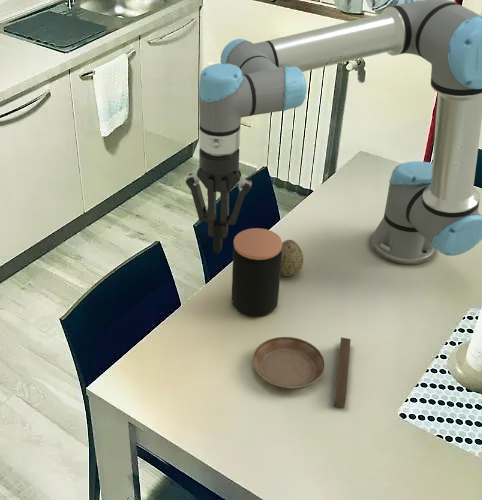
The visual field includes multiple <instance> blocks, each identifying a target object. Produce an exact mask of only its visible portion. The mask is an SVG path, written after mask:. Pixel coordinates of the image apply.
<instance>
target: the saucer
mask: <svg viewBox="0 0 482 500" xmlns="http://www.w3.org/2000/svg"><path fill="white" fill-rule="evenodd" d="M252 365H253V368H254V370H255V371H256V373H257V374H258V376H260V378H262V379H263V380H264V381H265V382H267V383H269V384H270V385H273V386H274V387H277V388H279V389H285V390H286V389H287V390H298V389H303V388H307V387H308V386H311V385H313V384H315V383H316V382H317V381H318V380H320V379H321V377H322V376H323V375H324V372H325V368H326V361H325V358H324V355H323V354H322V352H321V350H319V349H318V348H317V347H316V346H315V345H313V344H312V343H310V342H308V341H307V340H304V339H301V338H297V337H293V336H277V337H273V338H270V339H267V340H265V341H263V342H262V343H260V344H259V345H258V346H257V347H256V348H255V350H254V352H253V354H252Z"/></svg>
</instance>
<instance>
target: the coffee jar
mask: <svg viewBox="0 0 482 500" xmlns="http://www.w3.org/2000/svg"><path fill="white" fill-rule="evenodd" d="M282 244H283V240H282V238H281V236H280V235H279V234H278V233H276V232H274V231H272V230H270V229H267V228H259V227H255V228H253V227H252V228H247V229H244V230H242V231H240V232H238V233H237V234H236V235H235V236H234V239H233V250H232V272H231V274H232V275H231V304H232V306H233V307H234V309H235V310H236V311H237V312H239V313H240V314H241V315H243V316H246V317H249V318H262V317H266V316H268V315H269V314H271V313H272V312H274V310H275V309H276V308H277V306H278V303H279V292H280V281H281V274H280V270H281V258H282V251H281V249H282Z"/></svg>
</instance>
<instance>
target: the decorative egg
mask: <svg viewBox="0 0 482 500" xmlns="http://www.w3.org/2000/svg"><path fill="white" fill-rule="evenodd" d="M282 243H283V244H282V249H281V251H282V258H281V270H280V275H282V276H285V277H293V276H295V275H297V274H298V273H299V272H300V271H301V269H302V268H303V265H304V259H305V258H304V254H303V251H302V248H301V247H300V245H299V244H298V242H296V241H295V240H293V239H287V240H284V241H282Z"/></svg>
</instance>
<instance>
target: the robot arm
mask: <svg viewBox="0 0 482 500" xmlns="http://www.w3.org/2000/svg"><path fill="white" fill-rule="evenodd" d="M385 53H387V54H388V55H389V56H392V57H393V56H398V55H399V56H400V55H403V54H408V55H409V54H410V55H415V56H418V57H420V58H422V59H423V60H426V62H428V63H430V64H431V72H430V73H431V75H430V86H431V88H432V90H433V91H435V92H436V93H437V101H436V102H437V103H436V113H435V126H434V139H433V140H434V141H433V151H432V162H428V161H419V160H418V161H417V160H416V161H415V160H413V161H405V162H403V163H400V164H398V165H397V166H395V167H394V169H393V170H392V173H391V176H390V179H389V181H388V182H389V184H388V192H387V196H386V202H385V203H386V204H385V208H384V213H383V217H382V219H381V221H380V222H379V224H378V225H377V226H376V229H375V230H374V232H373V233H372V236H371V237H372V238H371V247H372V249H373V251H374V252H375V253H376V254H377V255H378V256H380V257H381V258H382V259H385V260H386V261H389V262H391V263H394V264H399V265H409V266H411V265H420V264H424V263H426V262H428V261H430V260H431V259H432V258H433V257H434V256H435V251H436V250H437V251H438V252H440V253H441V254H442V255H445V256H448V257H449V256H450V257H452V256H453V257H454V256H459V255H463V254H464V253H467V252H469V251H470V250H472V249H473V248H475V247H476V246H477V245H479V243H480V242H481V241H482V214H480V212H479V207H480V200H481V199H480V198H481V196H480V192H479V191H478V190H477V188H476V187H475V186H474V185H475V178H476V170H477V169H476V168H477V163H478V162H477V161H478V154H479V153H478V152H479V145H480V139H481V138H480V137H481V129H482V15H481V14H478V13H477V12H475V11H473V10H472V9H469V8H467V7H466V6H464V5H462V4H460V3H459V2H456V1H454V0H417V1H416V0H415V1H410V2H405V3H399V4H396V5H392V6H387V7H385V8H384V9H383V10H382V11H381V13H380V14H376V15H372V16H368V17H364V18H359V19H355V20H350V21H346V22H343V23H337V24H332V25H328V26H325V27H321V28H320V27H319V28H316V29H312V30H308V31H302V32H298V33H294V34H290V35H285V36H281V37H277V38H273V39H268V40H264V41H259V42H255V43H253V42H251V41H249V40H247V39H244V38H236V39H234V40H231V41H230V42H228V43H227V44H226V45H225V46H224V48H223V49H222V51H221V55H220V62H219V63H213V64H210V65H207V66H206V67H205V68H203V69H202V71H201V72H200V76H199V82H198V83H199V84H198V109H199V110H198V111H199V112H198V113H199V127H198V136H199V137H198V140H199V141H198V144H199V149H198V151H199V152H198V153H199V155H198V156H199V157H198V160H199V161H198V162H199V163H198V165H199V167H198V169H197V171H196V172H195V173H188V175H187V178H186V180H185V184H186V186H187V187H188V188H189V190H190V192H191V196H192V200H193V203H194V207H195V210H196V215H197V217H198V220H199V222H206V223H207V235H208V237H211V238H212V252H213V253H217V254H221V251H222V248H223V243H224V242H223V241H224V239H226V238H227V236H228V233H229V225H231V226H234V225H236V223H237V220H238V216H239V214H240V211H241V208H242V205H243V202H244V199H245V196H246V195H247V194H248V193H249V192H250V191H251V188H252V186H253V180H252V179H246V178H244V177H243V176H242V172H241V170H240V146H241V145H240V144H241V121H242V118H247V117H252V116H258V115H264V114H271V113H278V112H285V111H287V110H292V109H295V108H299V107H301V106H302V105H303V104H304V102H305V100H306V97H307V81H306V77H305V75H304V72H308V71H312V70H317V69H321V68H325V67H330V66H333V65H337V64H342V63H347V62H351V61H355V60H359V59H364V58H367V57H372V56H376V55H380V54H385ZM200 182H201V183H202V185H203V186H204V188H205V189H206V191H207V192H206V193H207V194H206V195H207V206H206V202H205V199H204V195H203V192H202V187H201V184H200ZM237 184H238V187H237V188H238V190H239V191H238V194H237V197H236V200H235V204H234V206H233V210H232V213H231V214H230V191H231V190H232V189H233V188H234V187H235V186H236V185H237ZM217 192H218V193H220V195H219V196H220V218H217Z"/></svg>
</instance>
